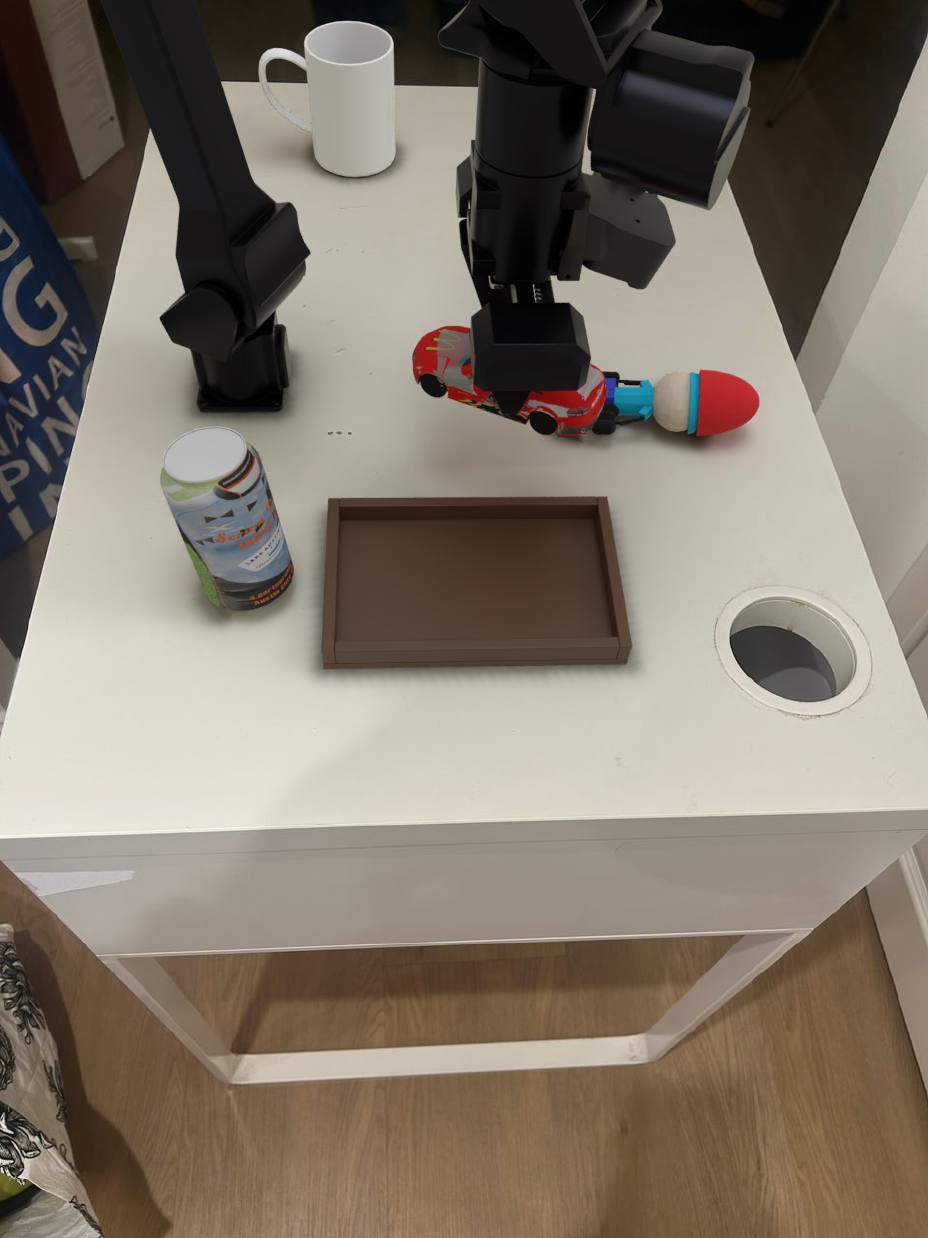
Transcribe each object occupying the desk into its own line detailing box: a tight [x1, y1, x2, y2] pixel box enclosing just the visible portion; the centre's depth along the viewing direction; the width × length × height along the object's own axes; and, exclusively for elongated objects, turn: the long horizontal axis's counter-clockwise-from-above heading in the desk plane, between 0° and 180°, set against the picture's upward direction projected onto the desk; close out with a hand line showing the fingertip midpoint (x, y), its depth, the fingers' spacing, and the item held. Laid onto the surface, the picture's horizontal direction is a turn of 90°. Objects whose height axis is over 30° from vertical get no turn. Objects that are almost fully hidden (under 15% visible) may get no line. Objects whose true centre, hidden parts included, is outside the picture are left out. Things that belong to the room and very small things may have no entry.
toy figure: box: [556, 369, 761, 437], centre depth 75 cm, size 8×5×15 cm
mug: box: [258, 20, 397, 178], centre depth 90 cm, size 12×8×10 cm, turn 95°
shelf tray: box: [320, 495, 633, 670], centre depth 65 cm, size 20×13×2 cm, turn 93°
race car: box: [411, 325, 607, 437], centre depth 63 cm, size 13×5×4 cm, turn 65°
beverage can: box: [159, 425, 295, 612], centre depth 61 cm, size 6×7×12 cm
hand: (505, 376), depth 64 cm, fingers closed on race car, 6 cm apart
